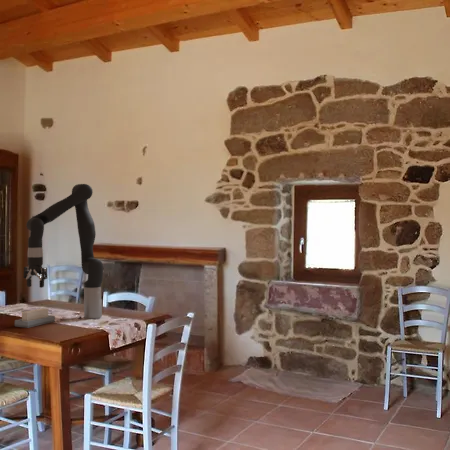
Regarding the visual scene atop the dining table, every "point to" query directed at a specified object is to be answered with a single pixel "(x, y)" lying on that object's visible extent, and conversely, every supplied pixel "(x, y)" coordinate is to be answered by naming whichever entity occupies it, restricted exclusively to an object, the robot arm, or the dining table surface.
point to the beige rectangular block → (34, 314)
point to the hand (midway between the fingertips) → (35, 287)
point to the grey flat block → (34, 322)
